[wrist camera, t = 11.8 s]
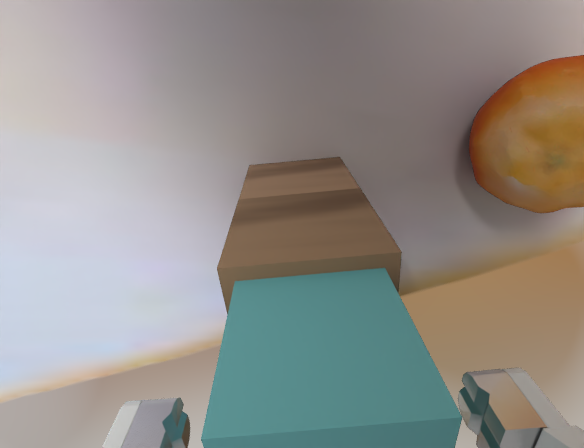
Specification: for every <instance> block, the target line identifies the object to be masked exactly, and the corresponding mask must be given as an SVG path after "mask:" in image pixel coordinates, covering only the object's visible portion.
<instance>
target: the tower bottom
mask: <svg viewBox="0 0 584 448" xmlns="http://www.w3.org/2000/svg"><path fill="white" fill-rule="evenodd" d="M356 188H360V187H359V186H358V184H357V183H356V181H355V180H354V178H353V177H352V175H351V173H350V172H349V170H348V169H347V167H346V166H345V164H344V163H343V161H342V160H341V158H340V157H335V158H324V159H313V160H302V161H291V162H280V163H269V164H258V165H249V168H248V172H247V175H246V178H245V181H244V185H243V188H242V191H241V194H240V197H239V199H247V198H258V197H269V196H279V195H290V194H301V193H312V192H323V191H334V190H345V189H356Z"/></svg>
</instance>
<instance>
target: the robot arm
mask: <svg viewBox="0 0 584 448" xmlns="http://www.w3.org/2000/svg"><path fill="white" fill-rule="evenodd" d="M462 382H463V384H464V386H465V387H464V388H463V389H461V390H460V391H459V396H458V402H459V408H460V412H461V415H462V417H463V419H464V421H465V423H466V425H467V427H468V428H469V429H470V430H472V431H473V432H474V433H475V434H477V443H476V445H477V447H478V448H584V430H582V429H580V428H579V427H577V426H570V425H569V424H568V423H567V421H566V420H565V419H564V418H563V416H562V415H561V414H560V413H559V412H558V410H557V409H556V408H555V407H554V405H553V404H552V403H551V402H550V400H549V399H548V398H547V397H546V396H545V394H544V393H543V392H542V391H541V389H540V388H539V387H538V386H537V384H536V383H535V382H534V381H533V380H532V378H531V377H530V376H529V375H528V373H527V372H526V371H525V370H523V369H522V368H509V369H494V370H484V371H474V372H466V373H465V374H464V375H463V378H462ZM182 409H183V402H182V400H181V398H168V399H154V400H138V401H127V402H125V404H124V405H123V406H122V407H121V408H120V411H119V413H118V415H117V417H116V419H115V421H114V424H113V425H112V428H111V430H110V432H109V434H108V436H107V438H106V440H105V442H104V444H103V447H102V448H188V443H189V437H190V422H189V418H188V415H187V414H186V413H184V412H183V411H182Z"/></svg>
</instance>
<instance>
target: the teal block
mask: <svg viewBox="0 0 584 448" xmlns="http://www.w3.org/2000/svg"><path fill="white" fill-rule="evenodd" d="M461 420H462V416H461V414H460V412H459V410H458V408H457V406H456V404H455V402H454V400H453V398H452V397H451V395H450V393H449V391H448V389H447V387H446V385H445V383H444V381H443V379H442V377H441V375H440V373H439V371H438V369H437V368H436V366H435V364H434V362H433V360H432V358H431V356H430V354H429V352H428V350H427V348H426V346H425V345H424V342H423V340H422V338H421V336H420V335H419V333H418V331H417V329H416V327H415V325H414V323H413V321H412V319H411V317H410V315H409V313H408V311H407V309H406V308H405V306H404V304H403V302H402V300H401V298H400V296H399V294H398V292H397V290H396V288H395V286H394V284H393V282H392V280H391V278H390V276H389V275H388V273H387V271H386V269H385V268H377V269H366V270H355V271H344V272H332V273H321V274H310V275H299V276H288V277H277V278H266V279H255V280H244V281H235V283H234V287H233V292H232V297H231V302H230V306H229V311H228V316H227V320H226V325H225V330H224V334H223V339H222V344H221V348H220V353H219V358H218V363H217V367H216V372H215V377H214V381H213V386H212V391H211V395H210V400H209V405H208V409H207V414H206V419H205V423H204V428H203V433H202V437H201V441H202V443H203V446H204V448H455V444H456V440H457V436H458V432H459V428H460V424H461Z"/></svg>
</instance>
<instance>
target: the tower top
mask: <svg viewBox="0 0 584 448" xmlns="http://www.w3.org/2000/svg"><path fill="white" fill-rule="evenodd" d="M401 253H402V252H401V250H400V249H399V247H398V246H397V244H396V243H395V241H394V240H393V238H392V237H391V235H390V233H389V232H388V230H387V229H386V227H385V226H384V224H383V223H382V221H381V220H380V218H379V217H378V215H377V213H376V212H375V210H374V209H373V207H372V206H371V204H370V203H369V201H368V200H367V198H366V196H365V195H364V193H363V192H362V190H361V189H360V188H356V189H345V190H334V191H323V192H312V193H301V194H290V195H279V196H269V197H258V198H247V199H239V200H238V203H237V206H236V210H235V213H234V216H233V219H232V222H231V226H230V229H229V232H228V235H227V238H226V242H225V245H224V248H223V251H222V254H221V258H220V261H219V264H218V267H217V271H218V275H219V280H220V284H221V288H222V293H223V297H224V301H225V306H226V310H227V314H228V311H229V306H230V302H231V297H232V292H233V287H234V283H235V281H244V280H255V279H266V278H277V277H288V276H299V275H310V274H321V273H332V272H344V271H355V270H366V269H377V268H385V269H386V271H387V273H388V275H389V276H390V278H391V280H392V282H393V284H394V286H395V288H396V290H397V292H398V291H399V278H400V266H401Z"/></svg>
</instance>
